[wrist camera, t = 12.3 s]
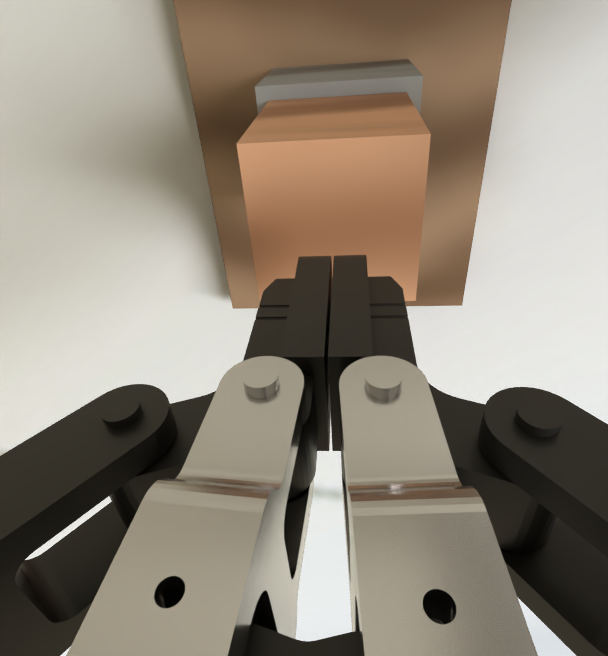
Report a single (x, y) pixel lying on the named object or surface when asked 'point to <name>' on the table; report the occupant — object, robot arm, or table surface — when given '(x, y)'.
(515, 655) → the robot arm
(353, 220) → the terracotta block
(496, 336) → the table surface
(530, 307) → the table surface
